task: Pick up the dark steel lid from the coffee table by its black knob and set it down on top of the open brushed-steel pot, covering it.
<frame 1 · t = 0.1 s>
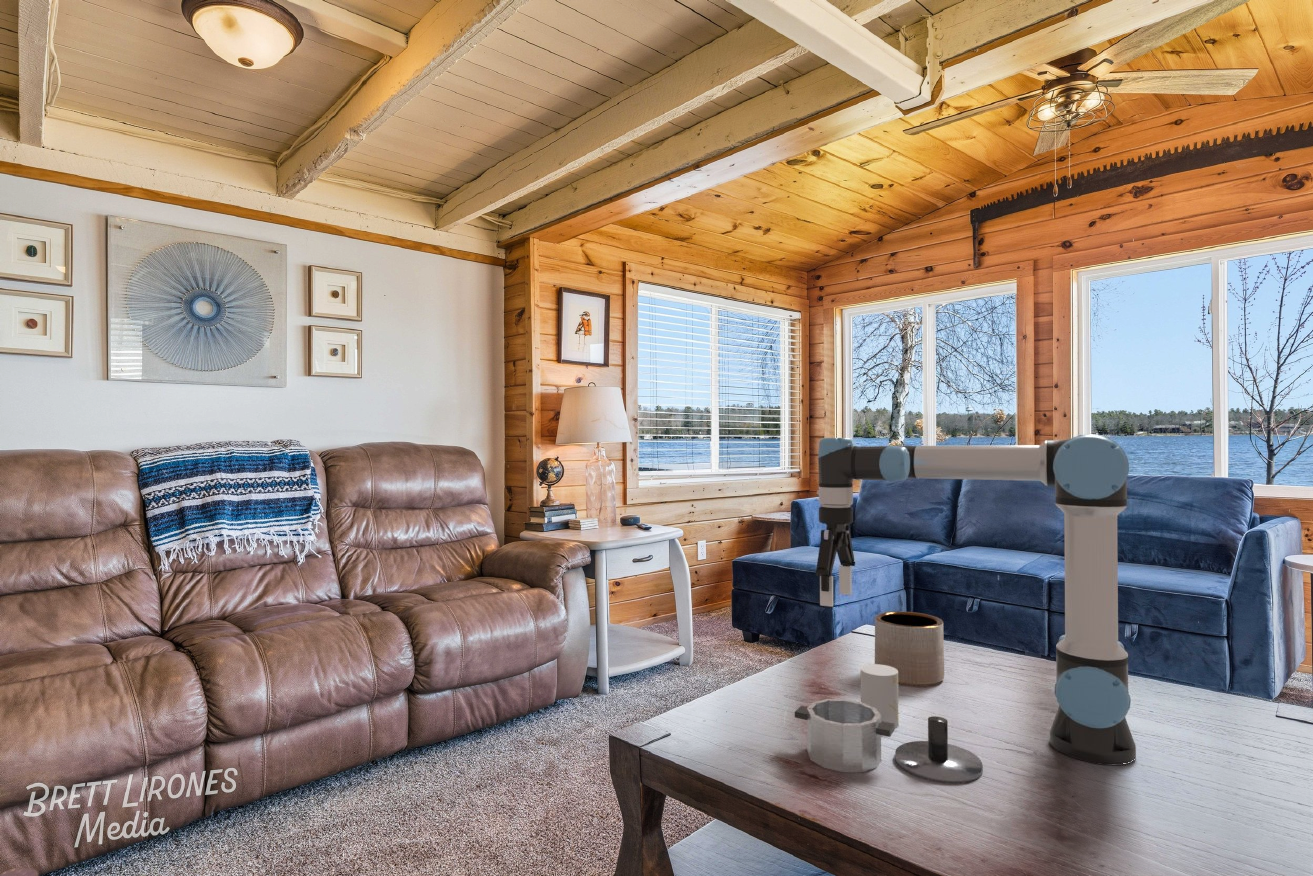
hand: (836, 600, 161), 28 cm above the table, fingers open, 13 cm apart
pot: (843, 756, 144), on the table
beige cylinder: (879, 723, 161), on the table
lid: (938, 765, 140), on the table
planter: (909, 677, 192), on the table
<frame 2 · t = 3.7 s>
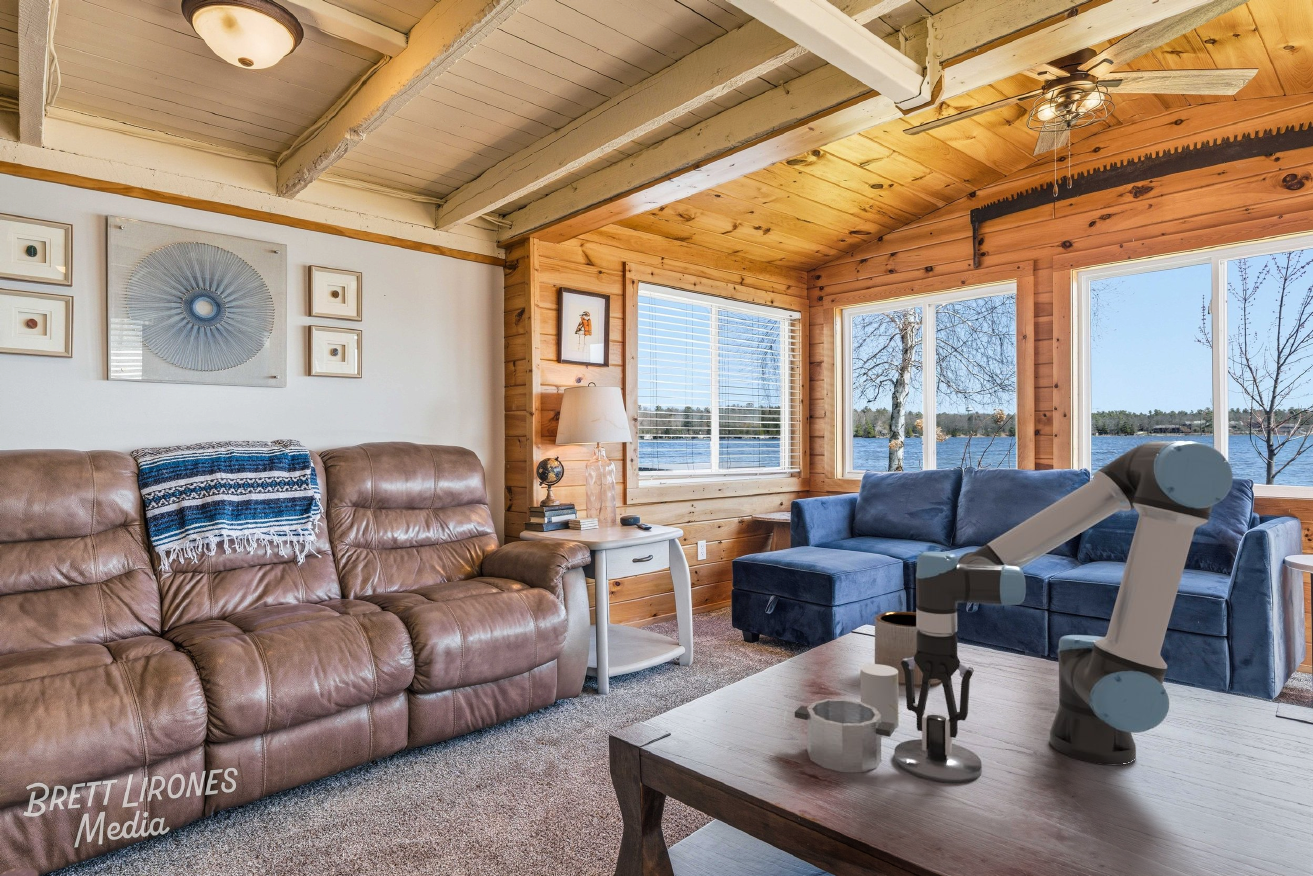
hand: (937, 749, 140), 3 cm above the table, fingers closed on lid, 4 cm apart
lid: (937, 764, 140), on the table, touching gripper
everything else where it was.
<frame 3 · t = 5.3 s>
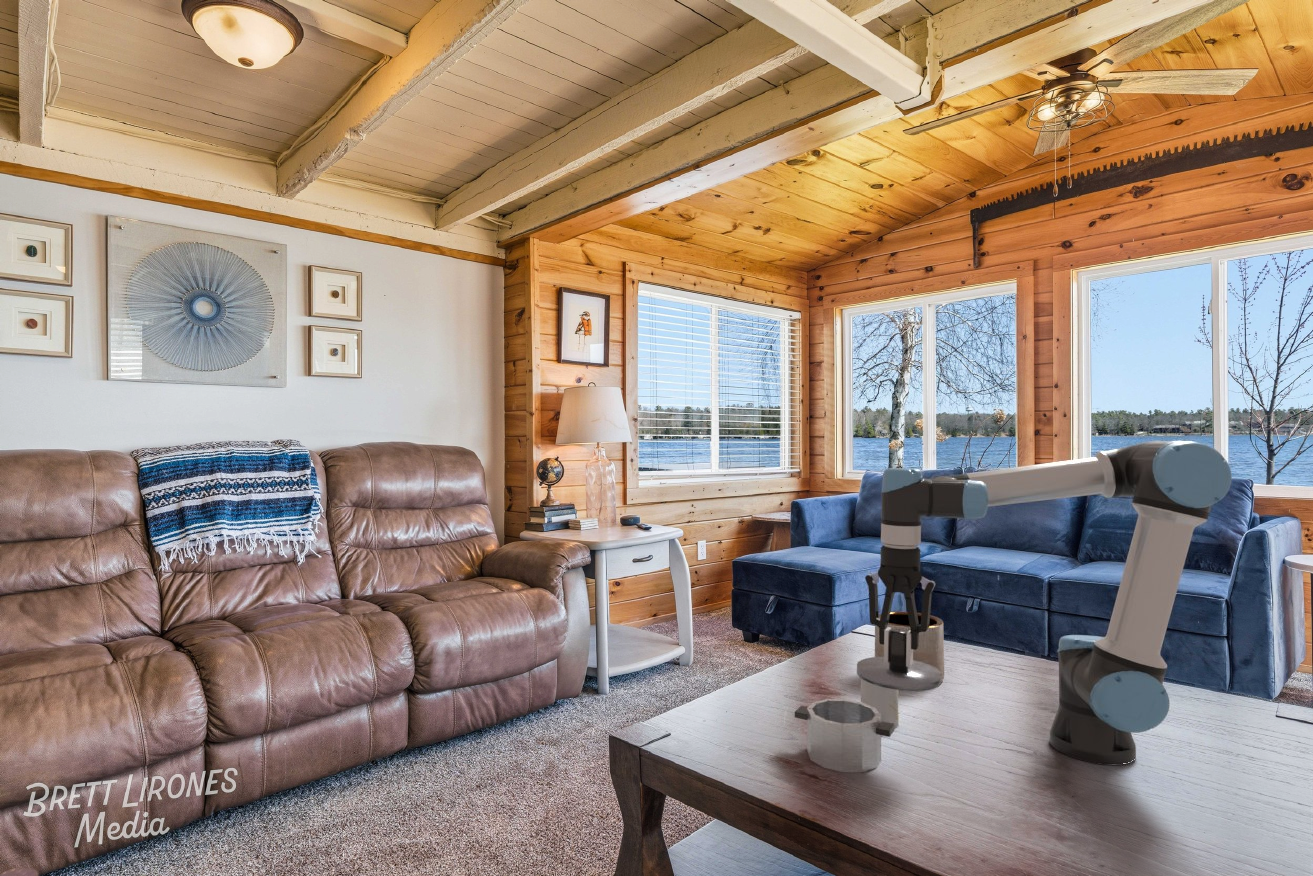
hand: (898, 662, 142), 20 cm above the table, fingers closed on lid, 4 cm apart
lid: (898, 676, 142), point 17 cm above the table, touching gripper
everything else where it was.
when the fingers open (14 cm above the table, at t = 6.8 s): lid drops 2 cm, resting on pot.
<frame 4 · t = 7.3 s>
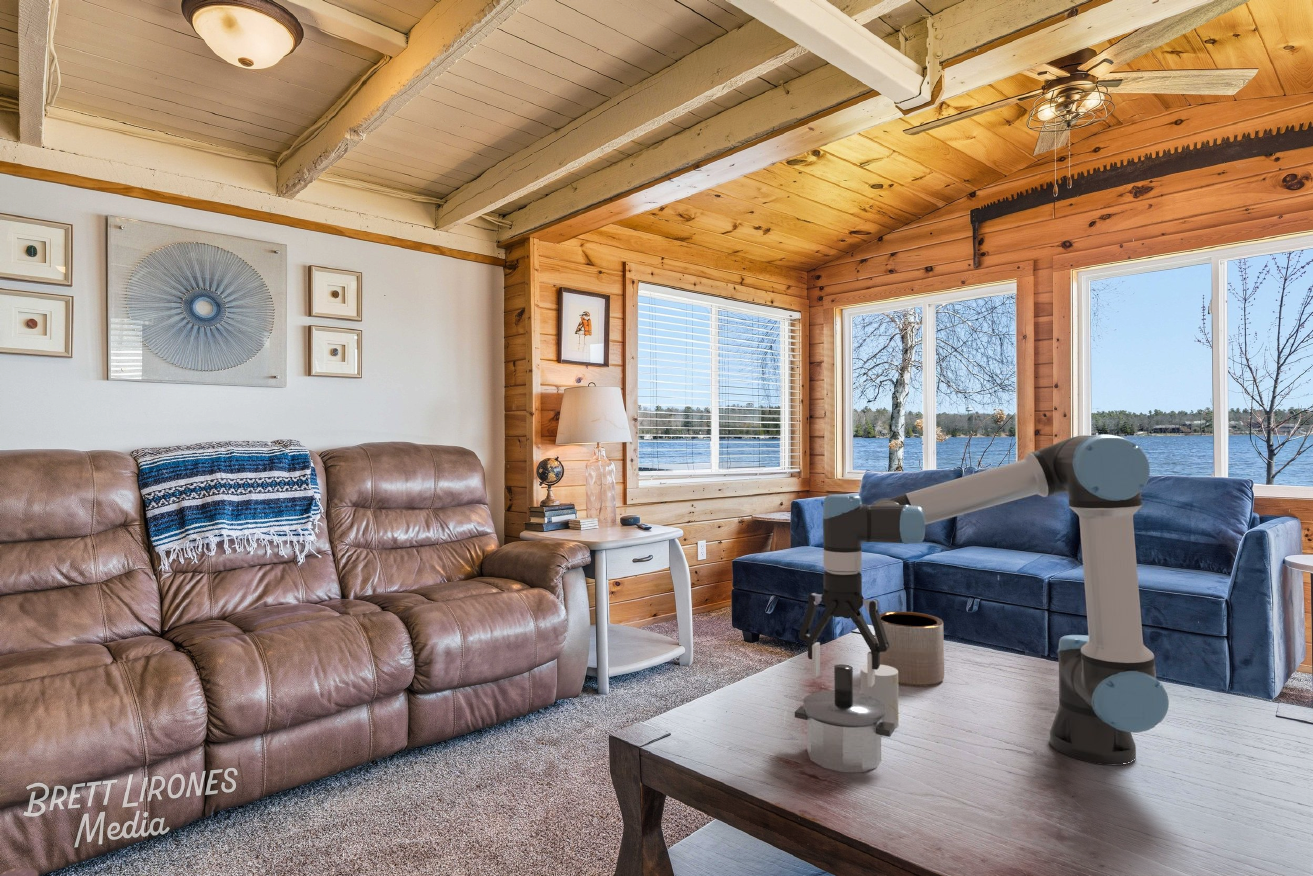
hand: (843, 680, 144), 15 cm above the table, fingers open, 10 cm apart
lid: (843, 711, 144), point 9 cm above the table, touching pot
everything else where it was.
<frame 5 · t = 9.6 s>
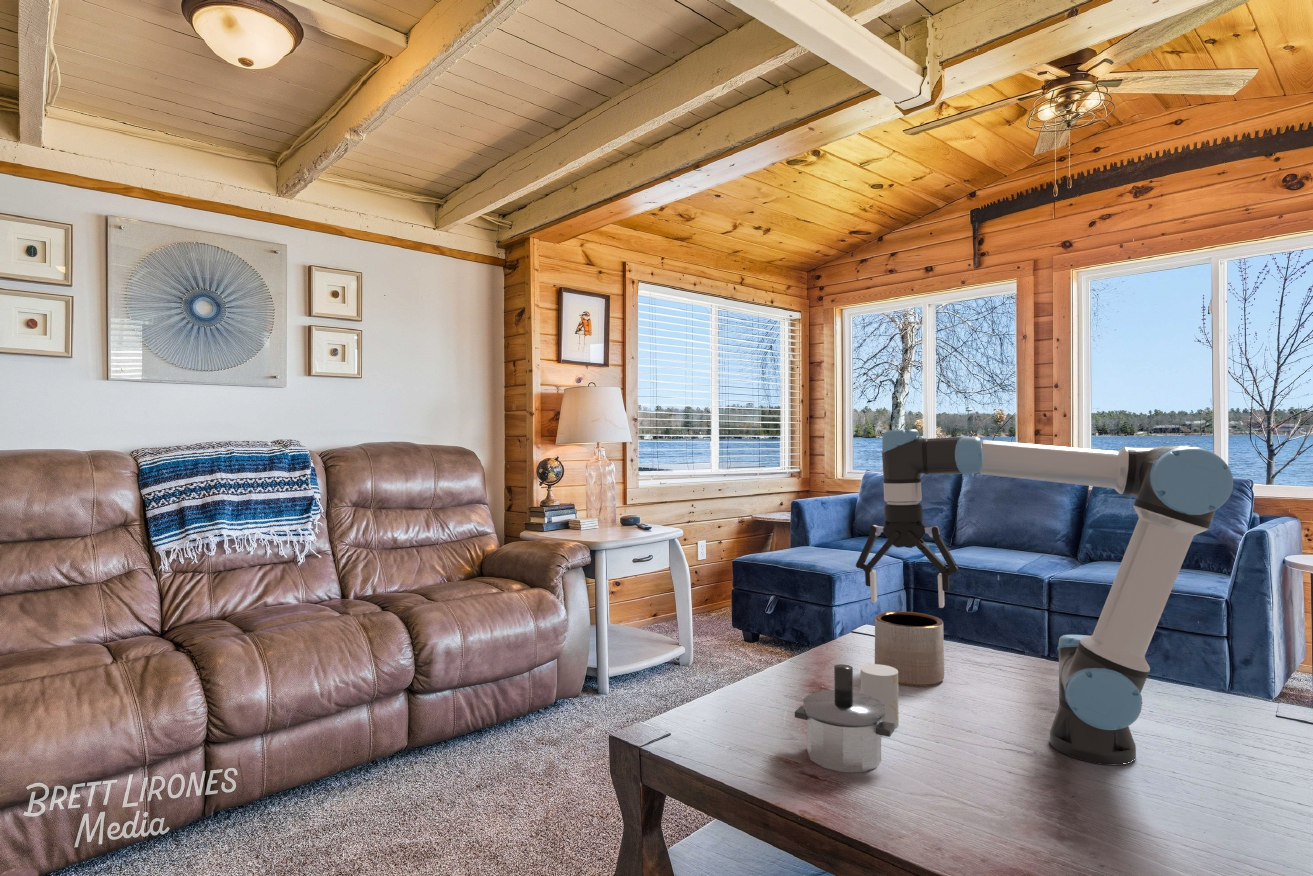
hand: (907, 604, 149), 29 cm above the table, fingers open, 13 cm apart
nothing on the table moved.
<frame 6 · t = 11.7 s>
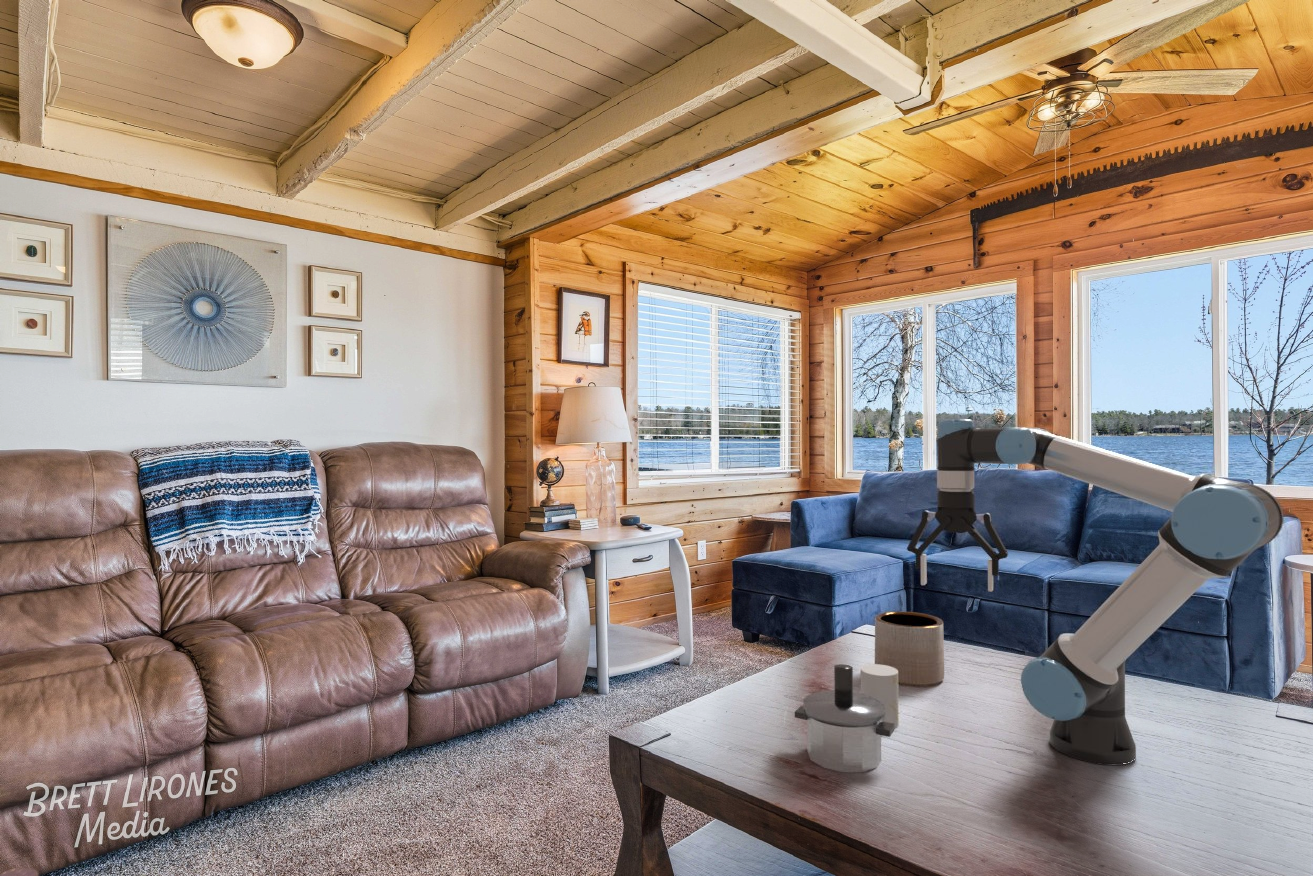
hand: (956, 587, 155), 32 cm above the table, fingers open, 13 cm apart
nothing on the table moved.
at the end: lid 0.1 cm off-centre on the pot, point 9.0 cm above the pot's base; lid tilted 0°; the gripper is holding nothing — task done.
